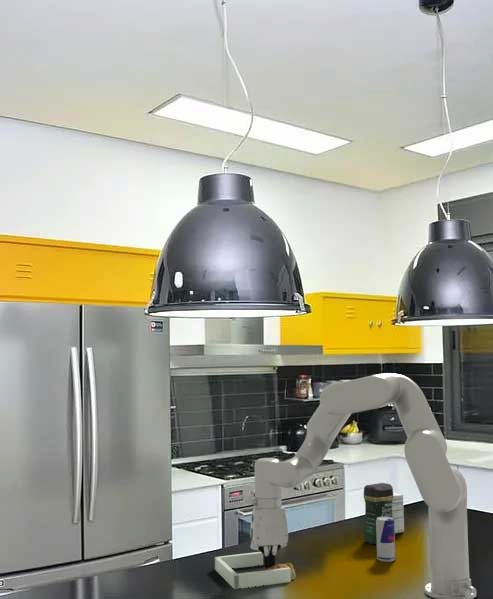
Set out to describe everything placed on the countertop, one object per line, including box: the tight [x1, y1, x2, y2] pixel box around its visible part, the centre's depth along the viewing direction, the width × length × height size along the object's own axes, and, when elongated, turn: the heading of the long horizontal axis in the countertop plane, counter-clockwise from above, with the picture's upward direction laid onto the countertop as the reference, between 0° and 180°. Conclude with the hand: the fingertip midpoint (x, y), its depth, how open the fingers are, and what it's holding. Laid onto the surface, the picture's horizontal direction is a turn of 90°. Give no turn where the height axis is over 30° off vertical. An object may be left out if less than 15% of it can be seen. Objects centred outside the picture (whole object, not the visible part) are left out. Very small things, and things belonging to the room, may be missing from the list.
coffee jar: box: [363, 482, 394, 545], centre depth 230 cm, size 10×8×19 cm
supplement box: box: [392, 491, 405, 534], centre depth 243 cm, size 7×7×13 cm
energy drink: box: [376, 516, 397, 563], centre depth 210 cm, size 5×5×12 cm
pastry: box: [265, 562, 296, 581], centre depth 194 cm, size 9×7×4 cm
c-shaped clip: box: [214, 551, 292, 590], centre depth 197 cm, size 18×16×4 cm
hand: (269, 569), depth 199 cm, fingers closed
